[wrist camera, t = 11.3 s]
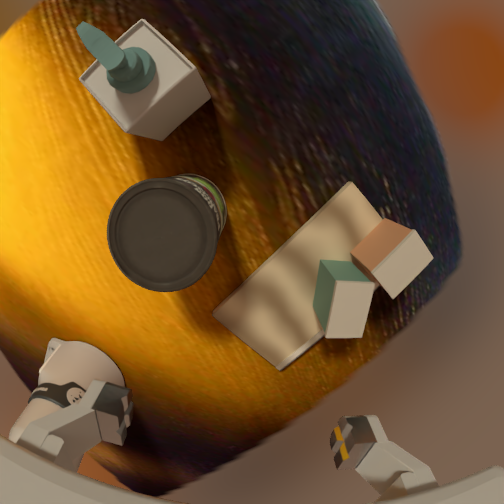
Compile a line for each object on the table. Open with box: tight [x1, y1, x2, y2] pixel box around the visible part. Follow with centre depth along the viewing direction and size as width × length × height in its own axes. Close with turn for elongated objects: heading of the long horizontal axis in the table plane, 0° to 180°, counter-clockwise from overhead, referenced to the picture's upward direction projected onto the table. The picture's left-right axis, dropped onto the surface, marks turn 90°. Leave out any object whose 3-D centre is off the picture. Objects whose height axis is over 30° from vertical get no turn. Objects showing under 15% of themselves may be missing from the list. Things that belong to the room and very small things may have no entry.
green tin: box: [313, 259, 375, 338], centre depth 37 cm, size 5×7×8 cm
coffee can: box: [107, 174, 227, 292], centre depth 32 cm, size 10×10×14 cm
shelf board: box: [212, 182, 382, 371], centre depth 41 cm, size 26×14×2 cm, turn 135°
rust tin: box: [350, 218, 433, 299], centre depth 35 cm, size 5×7×8 cm
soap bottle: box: [76, 19, 211, 141], centre depth 25 cm, size 9×9×19 cm
